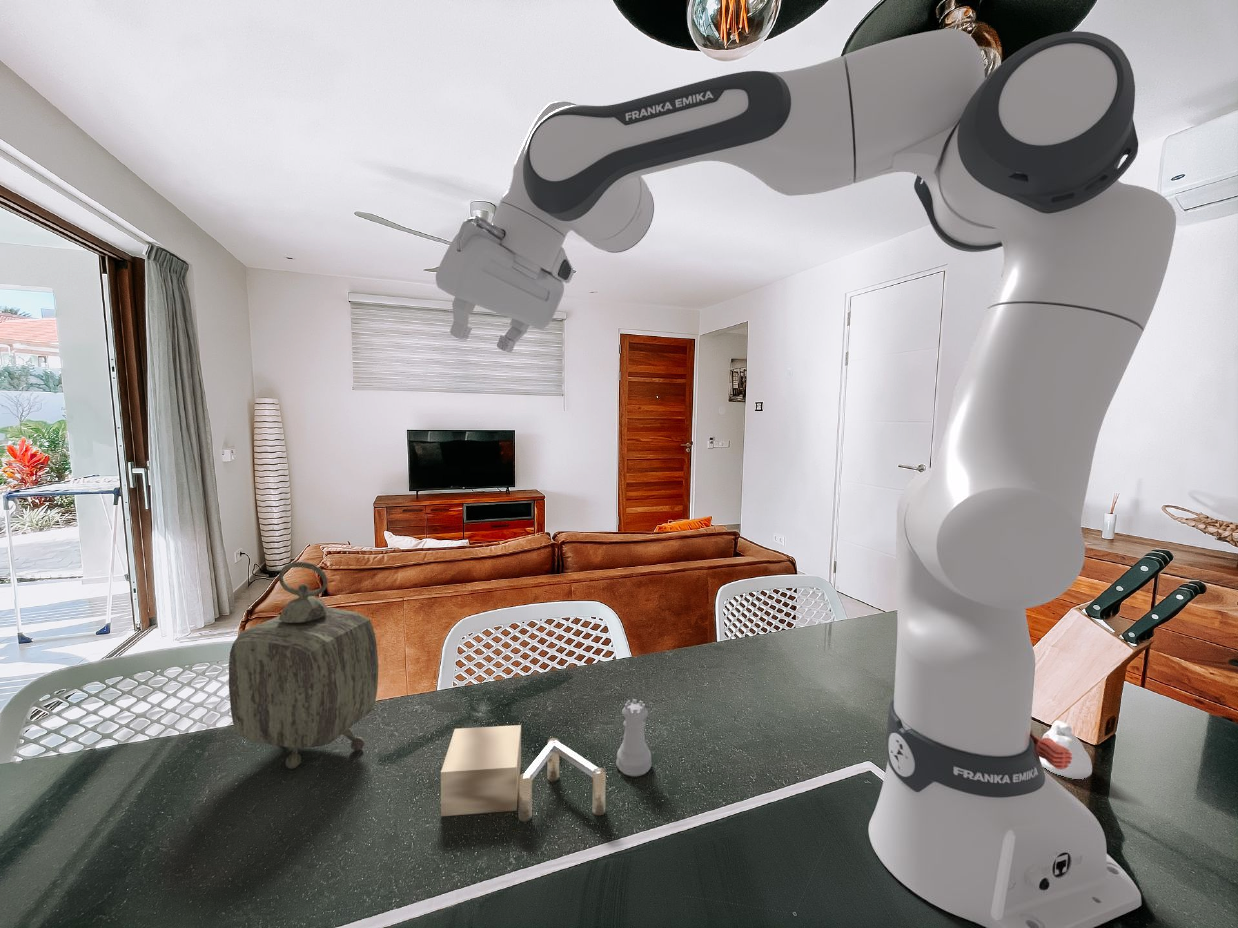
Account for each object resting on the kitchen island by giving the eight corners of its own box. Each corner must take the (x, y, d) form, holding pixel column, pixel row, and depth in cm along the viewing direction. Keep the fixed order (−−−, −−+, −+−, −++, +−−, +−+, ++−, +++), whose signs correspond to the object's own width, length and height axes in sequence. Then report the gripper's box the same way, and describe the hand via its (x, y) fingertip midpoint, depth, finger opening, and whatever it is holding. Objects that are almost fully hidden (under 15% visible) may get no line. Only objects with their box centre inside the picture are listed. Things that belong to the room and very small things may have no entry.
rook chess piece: (649, 780, 62) (650, 716, 61) (612, 775, 63) (613, 712, 62) (653, 757, 66) (655, 697, 66) (619, 752, 67) (620, 693, 67)
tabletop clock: (380, 744, 68) (376, 558, 66) (327, 791, 59) (321, 578, 57) (288, 728, 71) (282, 550, 69) (225, 771, 62) (216, 568, 61)
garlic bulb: (1027, 709, 68) (1072, 712, 68) (1024, 753, 68) (1068, 756, 68) (1058, 734, 63) (1107, 737, 62) (1055, 781, 63) (1103, 785, 63)
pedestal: (521, 763, 65) (521, 724, 64) (516, 810, 57) (516, 766, 57) (455, 767, 64) (454, 728, 63) (441, 816, 56) (440, 772, 56)
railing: (599, 769, 64) (600, 734, 63) (605, 814, 56) (606, 775, 56) (522, 775, 63) (522, 739, 62) (518, 821, 55) (518, 781, 55)
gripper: (490, 218, 55) (443, 339, 58) (580, 276, 74) (540, 365, 77) (449, 199, 57) (405, 316, 60) (546, 260, 76) (509, 347, 79)
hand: (482, 344), depth 68 cm, fingers open, 8 cm apart
